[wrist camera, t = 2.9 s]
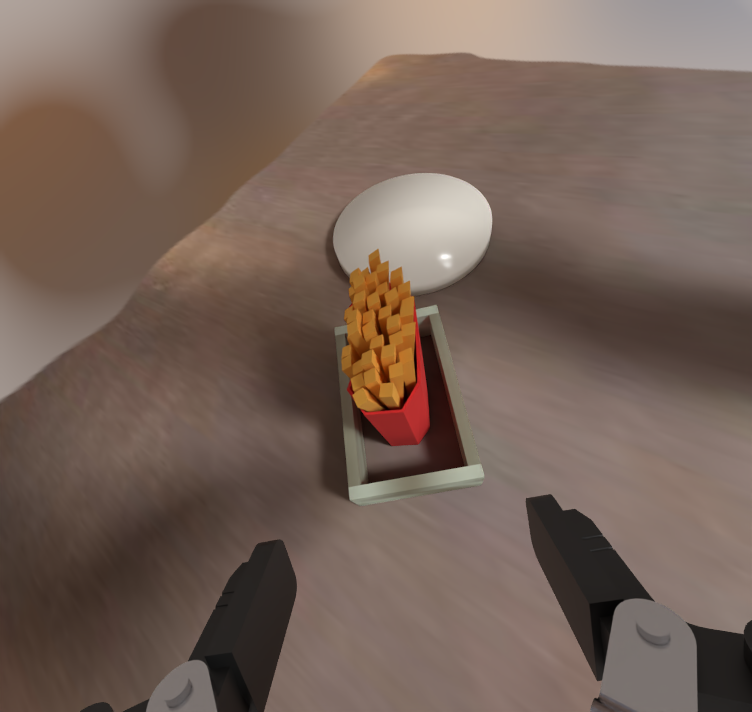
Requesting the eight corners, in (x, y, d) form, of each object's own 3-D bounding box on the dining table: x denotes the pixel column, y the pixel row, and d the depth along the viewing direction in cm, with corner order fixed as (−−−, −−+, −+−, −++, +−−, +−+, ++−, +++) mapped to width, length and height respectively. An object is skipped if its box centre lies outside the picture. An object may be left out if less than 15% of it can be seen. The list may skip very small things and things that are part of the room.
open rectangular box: (438, 325, 32) (436, 304, 29) (481, 485, 25) (484, 476, 22) (343, 345, 32) (334, 327, 30) (360, 506, 26) (349, 500, 23)
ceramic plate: (467, 170, 41) (467, 158, 40) (512, 274, 33) (515, 262, 31) (332, 205, 42) (328, 194, 41) (343, 312, 34) (339, 303, 33)
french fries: (376, 358, 31) (332, 247, 20) (425, 353, 31) (409, 235, 19) (377, 466, 27) (322, 401, 16) (435, 463, 26) (421, 392, 15)
